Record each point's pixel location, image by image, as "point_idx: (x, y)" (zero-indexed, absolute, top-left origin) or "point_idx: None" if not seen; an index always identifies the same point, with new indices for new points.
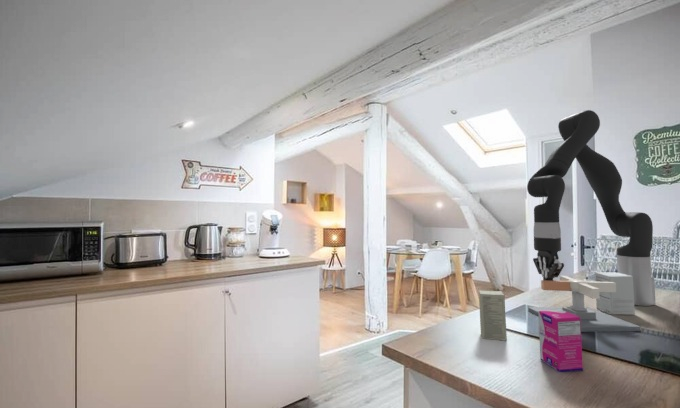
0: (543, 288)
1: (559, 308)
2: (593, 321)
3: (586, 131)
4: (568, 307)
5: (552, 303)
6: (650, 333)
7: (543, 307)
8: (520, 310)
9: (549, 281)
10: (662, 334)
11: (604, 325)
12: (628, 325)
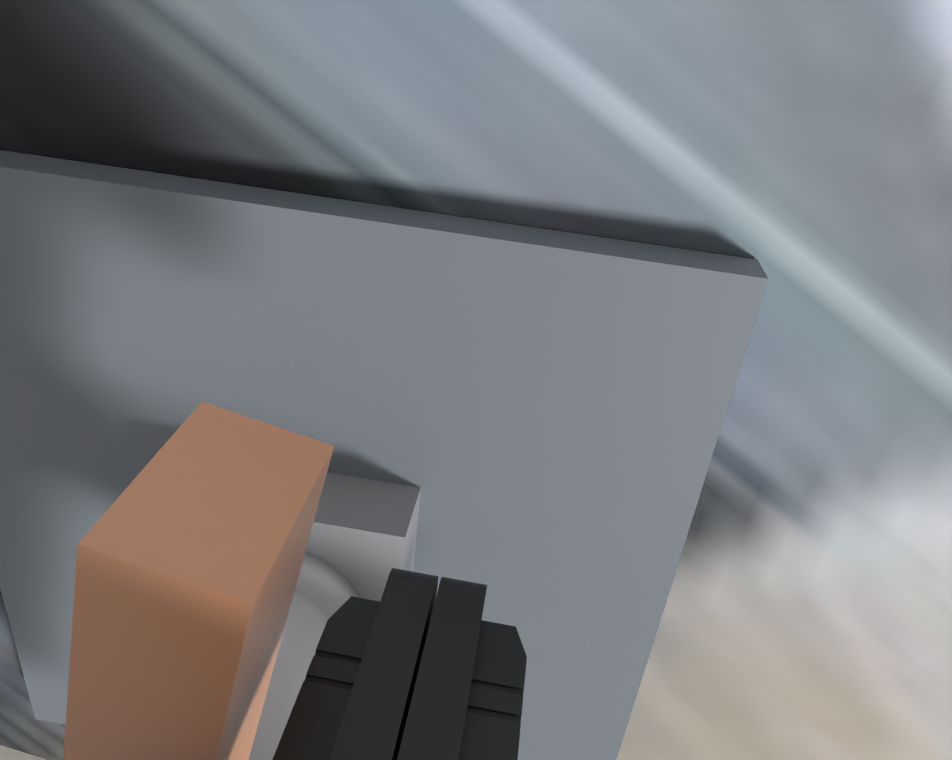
0: (194, 425)
1: (599, 590)
2: None
3: None
4: (378, 580)
5: (914, 726)
6: (12, 697)
7: (694, 466)
8: (825, 160)
9: (70, 657)
10: (3, 735)
11: (22, 528)
12: (50, 676)
